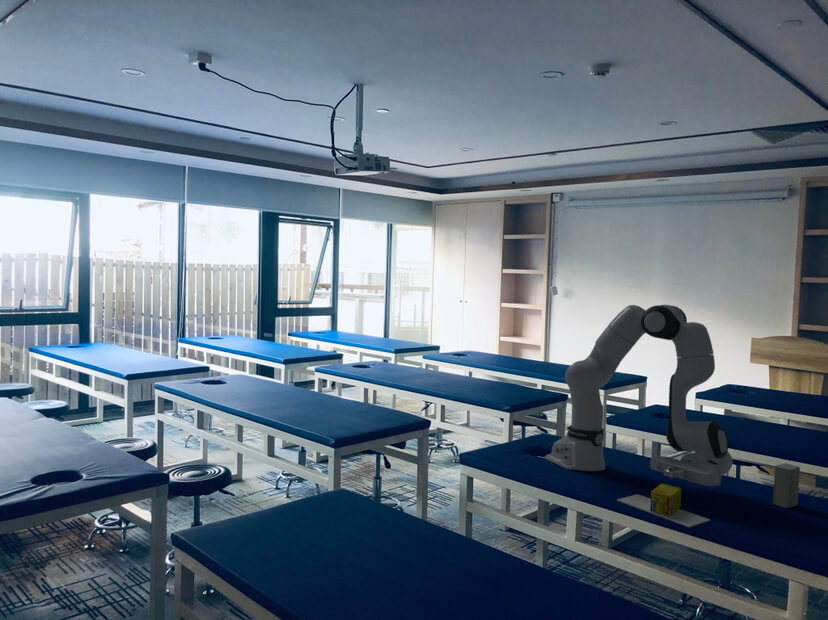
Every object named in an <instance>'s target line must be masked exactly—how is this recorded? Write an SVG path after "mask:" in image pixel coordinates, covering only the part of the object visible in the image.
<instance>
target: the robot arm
mask: <svg viewBox="0 0 828 620" xmlns="http://www.w3.org/2000/svg"><path fill="white" fill-rule="evenodd" d="M687 318H688V317H687V315H686V313H685V312H684V311H683V310H682V309H681V308H680V307H678V306H675V305H671V304H660V305H659V304H658V305H652V306H651V307H648V308H647V309H644V308H643V307H641V306H640V305H637V304H636V305H635V304H630V305H628V306H626V307H625V308H624V309H622V310H621V311H620V312H619V313H618V314H617V315H616V316H615V317H614V318H613V319H612V320H611V321H610V322H609V323H608V325H607V326H606V327H605V329H604V330H603V331H602V333H601V334H600V335H599V336H598V338H596V341H595V344H594V346H593V348H592V350H591V352H590V354H589V355H588V356H587V357H586V358H585V359H583V360H578V361H575V362H573V363H572V364H571V365H569V367H567V369H566V371H565V373H564V374H565V375H564V379H565V382H566V385H567V386H568V388H569V393H570V399H571V400H570V401H571V424H570V425H569V426H565V427H564V428H565V429H564V430H565V431H567V433H566V435H564V436H563V437H561V438H559V439H558V440H557V441H555V442H554V443H553V445H552V447H551V448H552V449H551V453H548V454H546V455H545V456H544V459H545V460H547V461H549V462H551V463H553V464H556V465H558V466H559V467H562V468H564V469H566V470H570V471H571V470H572V471H575V470H576V471H582V472H583V471H584V472H599V471H604V470H605V469H607V468H606V463H605V458H604V448H603V442H604V435H605V432H604V431H605V428H603V425H604V409H605V408H604V405H603V404H602V401H601V394H600V393H601V392H600V388H602V387H604V386H606V385H607V384H608V383H609V381H611V378H612V377H613V375H614V373H615V372H616V370H617V369H618V367H619V365H620V363H621V362H622V361H623V359H624V358H625V357H626V356H628V353H629V352H631V350H632V348H633V347H634V346H635V345H636V344H637V342H638V341H639V340H640V338H642V337H643V336H644V335H645V334H647V335H648V336H650V337H652V338H655V339H661V340H667V341H672V343H673V345H674V348H675V351H676V352H675V354H676V369H675V370H674V371H675V372H674V373H673V374H672V375H671V377H670V379H669V380H670V381H669V390H668V421H667V428H666V431H665V432H666V433H665V435H666V440H667V443H668V444H669V446H670V447H671V448H672V449H674V450H675V451H676V452H679V453H680V452H681V453H682V452H692V453H687V454H684V455H683V456H682V457H681V458H680V459H677V458H675V457H674V458H673V457H671V456H670V457H669V456H654V457H651V458H650V462H649V466H650V467H649V468H650V469H651V470H652V471H656V472H659V473H662V474H663V476H665V477H669V478H672V479H674V478H677V479H678V478H679V479H682V480H686V481H687V482H689V483H692V484H698V485H701V486H705V487H715V486H717V487H718V486H721V481H722V477H723V476H724V475H726V474H727V473H729V472H730V470H731V468H732V467H733V464H734V463H733V457H732V455H731V453H730V452H729V439H728V434H727V433H726V430H725V429H724V428H723V426H721V425H720V423H718V422H716V421H688V420H687V416H686V415H687V396H688V393H689V392H690V391H691V390H692V389H693V388H695V387H698V386H699V385H702V384H703V383H705V382H707V381H708V380H710V379H711V377H712V376H713V375H714V372H715V370H716V363H715V356H714V349H713V344H712V341H711V338H710V334H709V331H708V329H707V327H706V326H705V324H702V323H700V322H696V321H695V322H693V321H690V322H688V321H687V320H688V319H687Z"/></svg>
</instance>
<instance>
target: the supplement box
mask: <svg viewBox="0 0 828 620" xmlns="http://www.w3.org/2000/svg"><path fill="white" fill-rule="evenodd" d="M682 491H683V487H681V486H677V485H672V484H667V483H661V484H659V485H658V486H657V487H655V488H653V490H651V491H650V499H651V507H650V511H651V512H655V513H660V514H664V515H668V516H672V515H673V514H674V513H675V512H676V511H677V510H678V509H681V507H682Z"/></svg>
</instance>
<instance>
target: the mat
mask: <svg viewBox="0 0 828 620" xmlns="http://www.w3.org/2000/svg"><path fill="white" fill-rule="evenodd" d="M616 502H619V503H621V504H622V503H623V504H625V505H628V506H630V507H632V508H636V509H638V510H641V511H644V512H647V513H649V514H651V515H654V516H657V517H661V518H662V519H666V520H667V521H671V522H673V523H675V524H677V525H681V526H684V527H687V528H692V527H695V526H698V525H701V524H705V523H707V522H710V521H711V519H709V518H706V517H704V516H700V515H698V514H695V513H693V512H689V511H686V510H683V509H681V508H679V509H678V510H677V511H676V512H675V513H674V514H673V515H672V516H668V515H664V514H660V513H655V512H651V511H650V507H651V497H650V498H649V497H646V496H644V495H641V494H638V493H637V494H633V495H630V496H629V495H628V496H626V497H621V498H618V499H616Z"/></svg>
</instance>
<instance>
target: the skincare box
mask: <svg viewBox="0 0 828 620" xmlns="http://www.w3.org/2000/svg"><path fill="white" fill-rule="evenodd" d="M800 471H801V467H800V466H798V465H795V464H794V465H793V464H792V463H791V464H790V463H781V464H778V465H777V464H776V465H775V467H774V481H773V483H774V484H773V493H772V494H773V497H772V498H773V499H772V504H773V505H776V506H778V507H782V508H784V509H789V508H792V507H795V506H798V502H799V490H800V489H799V485H800Z"/></svg>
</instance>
